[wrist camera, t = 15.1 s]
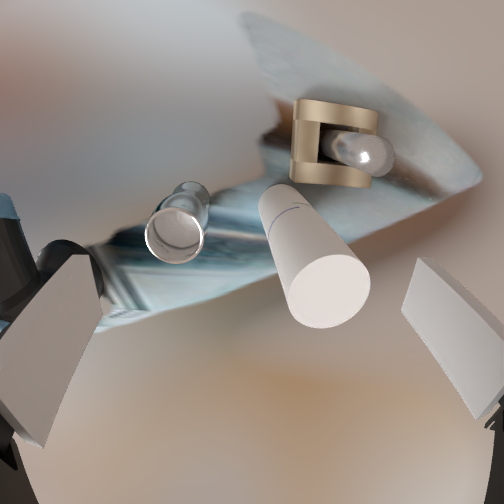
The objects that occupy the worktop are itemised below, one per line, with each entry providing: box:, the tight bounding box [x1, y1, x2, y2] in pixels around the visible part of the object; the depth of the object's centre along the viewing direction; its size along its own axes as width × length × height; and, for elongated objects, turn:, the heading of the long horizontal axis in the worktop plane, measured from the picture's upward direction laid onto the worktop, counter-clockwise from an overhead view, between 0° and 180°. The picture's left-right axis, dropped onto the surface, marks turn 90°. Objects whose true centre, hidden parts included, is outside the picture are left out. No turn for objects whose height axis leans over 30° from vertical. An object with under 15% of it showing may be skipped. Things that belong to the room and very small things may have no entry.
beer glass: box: [145, 182, 210, 264], centre depth 37 cm, size 7×7×15 cm
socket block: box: [289, 99, 378, 188], centre depth 40 cm, size 12×12×4 cm
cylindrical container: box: [258, 184, 370, 328], centre depth 34 cm, size 7×7×25 cm
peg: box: [318, 129, 395, 177], centre depth 34 cm, size 4×4×16 cm
